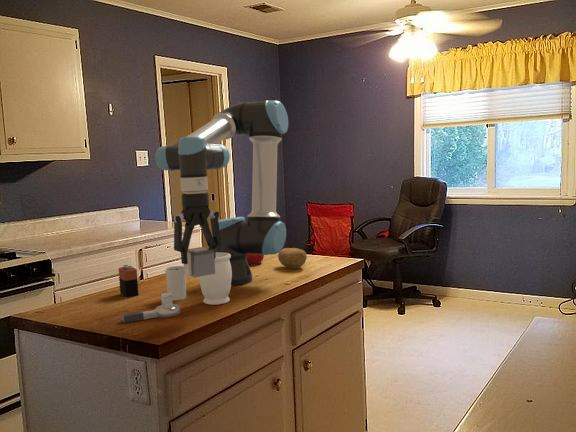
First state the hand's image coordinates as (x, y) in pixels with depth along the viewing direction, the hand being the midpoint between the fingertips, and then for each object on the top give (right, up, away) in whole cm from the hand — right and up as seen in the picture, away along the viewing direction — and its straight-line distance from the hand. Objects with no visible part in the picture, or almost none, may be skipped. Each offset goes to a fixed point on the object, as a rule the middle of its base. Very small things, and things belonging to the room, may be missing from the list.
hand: (199, 272), depth 156 cm
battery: (-29, -11, +30) cm, 43 cm away
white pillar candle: (-11, -11, +23) cm, 28 cm away
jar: (+3, -11, +17) cm, 20 cm away
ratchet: (-14, -13, +3) cm, 20 cm away
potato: (+27, -5, +63) cm, 69 cm away
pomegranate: (+10, -4, +74) cm, 75 cm away
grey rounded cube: (0, 0, 0) cm, 0 cm away
